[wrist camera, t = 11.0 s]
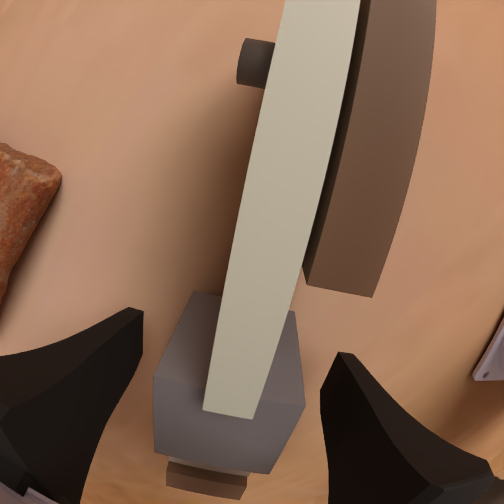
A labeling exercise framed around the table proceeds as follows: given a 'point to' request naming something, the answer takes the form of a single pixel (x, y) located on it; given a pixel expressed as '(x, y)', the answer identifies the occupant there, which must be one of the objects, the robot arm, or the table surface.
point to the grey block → (214, 424)
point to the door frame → (358, 175)
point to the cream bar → (278, 190)
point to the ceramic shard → (21, 203)
